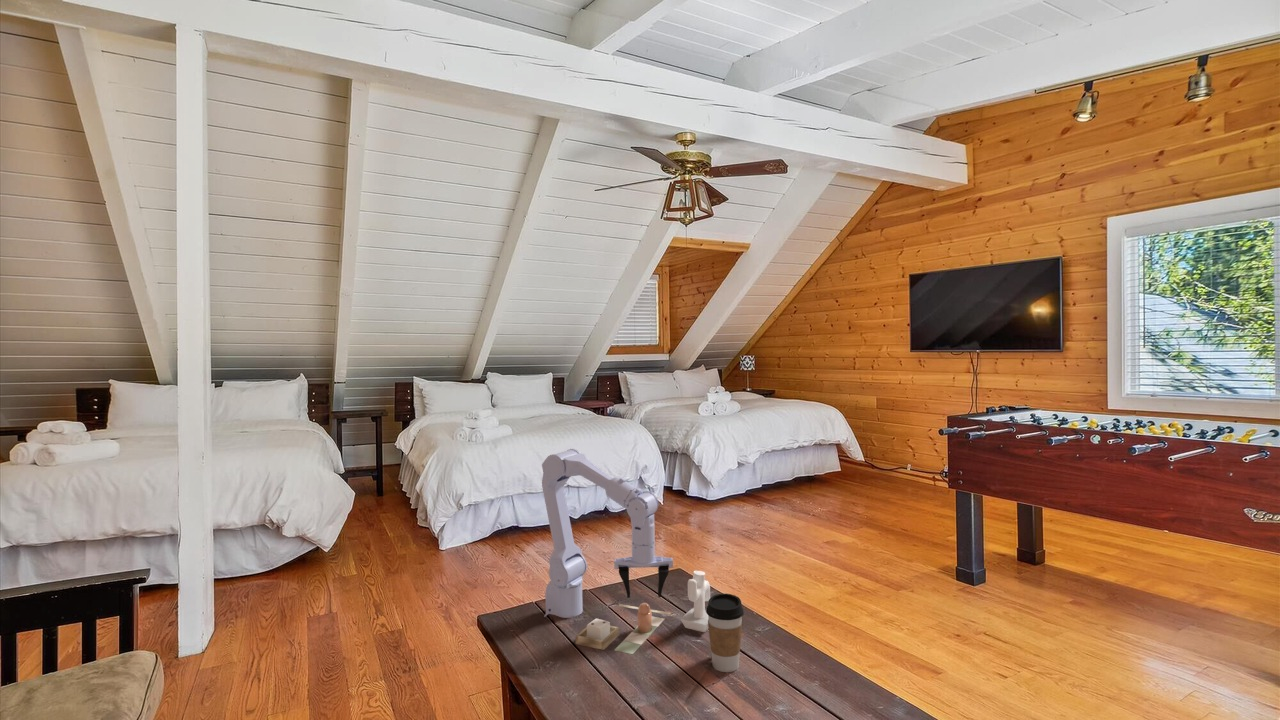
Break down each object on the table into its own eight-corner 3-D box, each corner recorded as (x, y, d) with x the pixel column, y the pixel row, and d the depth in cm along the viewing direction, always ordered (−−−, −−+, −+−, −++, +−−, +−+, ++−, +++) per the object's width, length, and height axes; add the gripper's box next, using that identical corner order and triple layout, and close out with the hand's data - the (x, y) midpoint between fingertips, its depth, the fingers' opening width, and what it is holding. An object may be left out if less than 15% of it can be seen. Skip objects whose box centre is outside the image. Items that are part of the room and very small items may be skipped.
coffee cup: (747, 659, 151) (746, 595, 150) (740, 678, 143) (739, 610, 142) (711, 653, 153) (710, 591, 152) (702, 672, 145) (702, 605, 145)
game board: (572, 651, 156) (571, 638, 156) (620, 607, 179) (619, 596, 179) (629, 663, 150) (628, 650, 149) (671, 616, 173) (670, 605, 173)
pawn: (636, 632, 162) (635, 606, 162) (639, 625, 166) (638, 599, 165) (650, 633, 161) (650, 607, 161) (653, 626, 165) (652, 600, 164)
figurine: (720, 625, 167) (719, 568, 167) (704, 641, 159) (704, 581, 159) (694, 619, 171) (693, 563, 170) (678, 634, 163) (677, 575, 162)
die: (587, 640, 159) (586, 624, 158) (596, 634, 162) (596, 618, 162) (600, 644, 156) (600, 628, 156) (610, 637, 160) (609, 621, 160)
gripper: (671, 536, 167) (672, 588, 167) (614, 537, 166) (615, 589, 167) (673, 545, 160) (673, 600, 160) (613, 546, 159) (614, 601, 160)
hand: (644, 595), depth 163 cm, fingers open, 7 cm apart
